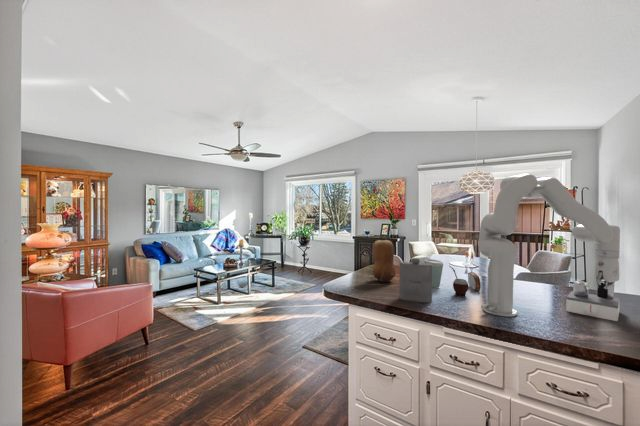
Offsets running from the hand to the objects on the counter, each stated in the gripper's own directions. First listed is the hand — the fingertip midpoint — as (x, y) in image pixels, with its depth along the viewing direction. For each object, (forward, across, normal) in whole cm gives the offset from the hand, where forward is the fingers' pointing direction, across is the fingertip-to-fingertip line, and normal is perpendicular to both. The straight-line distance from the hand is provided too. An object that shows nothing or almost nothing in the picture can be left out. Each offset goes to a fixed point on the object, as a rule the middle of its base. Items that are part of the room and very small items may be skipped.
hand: (605, 296), depth 128 cm
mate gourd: (+8, -34, +45) cm, 57 cm away
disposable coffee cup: (+8, -33, +63) cm, 71 cm away
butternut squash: (+8, -51, +84) cm, 98 cm away
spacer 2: (+1, 0, 0) cm, 1 cm away
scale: (+7, -1, +4) cm, 8 cm away
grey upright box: (+8, -60, +49) cm, 78 cm away
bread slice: (+8, -15, +51) cm, 54 cm away
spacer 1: (+1, -2, +8) cm, 8 cm away
